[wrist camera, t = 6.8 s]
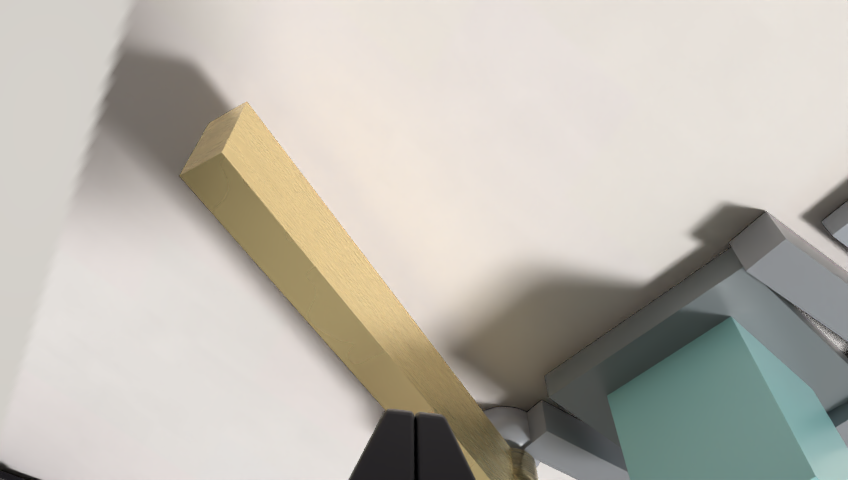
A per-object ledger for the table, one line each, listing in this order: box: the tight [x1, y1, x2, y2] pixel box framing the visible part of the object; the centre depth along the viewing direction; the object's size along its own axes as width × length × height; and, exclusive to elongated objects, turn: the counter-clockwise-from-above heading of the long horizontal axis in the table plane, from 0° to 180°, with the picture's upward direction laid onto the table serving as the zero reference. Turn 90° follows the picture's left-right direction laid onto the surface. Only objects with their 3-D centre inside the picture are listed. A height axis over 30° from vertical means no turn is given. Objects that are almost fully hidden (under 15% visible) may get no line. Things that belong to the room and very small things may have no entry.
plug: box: [545, 247, 848, 480], centre depth 19 cm, size 7×7×6 cm
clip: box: [179, 102, 538, 480], centre depth 17 cm, size 14×2×2 cm, turn 29°
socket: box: [483, 211, 848, 480], centre depth 21 cm, size 12×9×1 cm
